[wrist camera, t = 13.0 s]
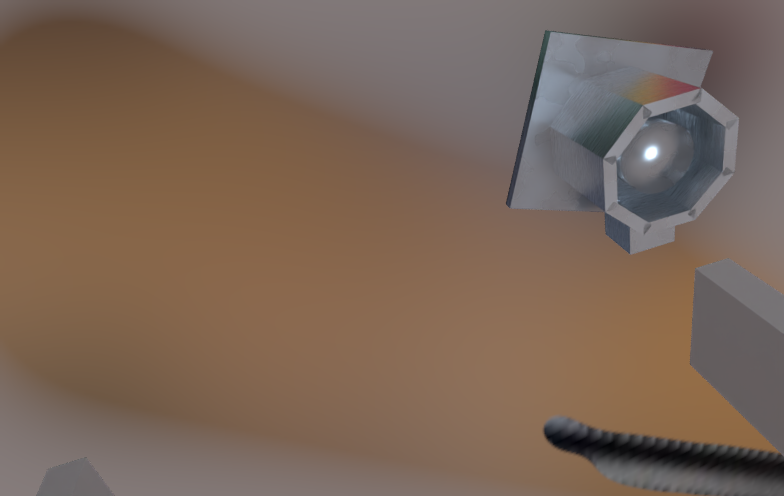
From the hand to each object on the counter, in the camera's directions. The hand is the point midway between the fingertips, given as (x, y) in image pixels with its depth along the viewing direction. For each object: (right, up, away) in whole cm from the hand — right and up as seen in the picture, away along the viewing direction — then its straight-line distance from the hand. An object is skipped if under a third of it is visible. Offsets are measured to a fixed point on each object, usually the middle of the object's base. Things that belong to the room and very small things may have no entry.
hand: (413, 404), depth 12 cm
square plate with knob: (+14, +12, +28) cm, 33 cm away
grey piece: (+15, +10, +28) cm, 33 cm away
